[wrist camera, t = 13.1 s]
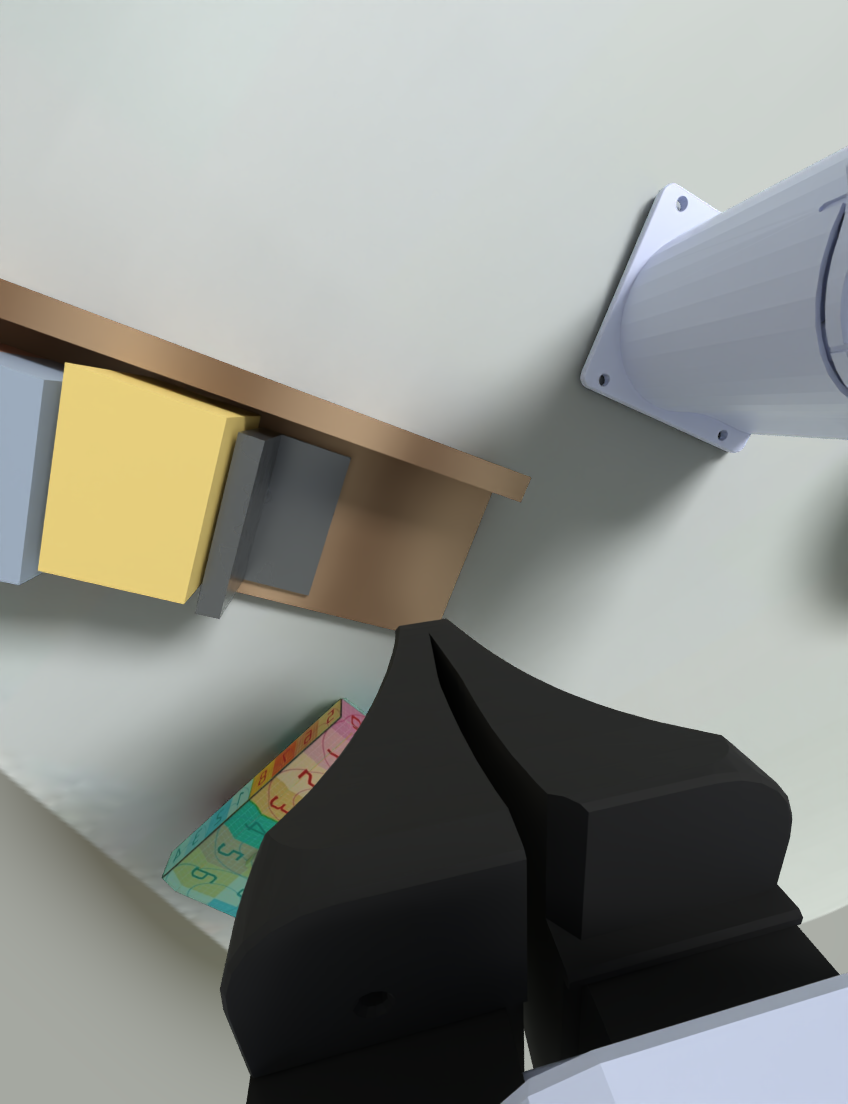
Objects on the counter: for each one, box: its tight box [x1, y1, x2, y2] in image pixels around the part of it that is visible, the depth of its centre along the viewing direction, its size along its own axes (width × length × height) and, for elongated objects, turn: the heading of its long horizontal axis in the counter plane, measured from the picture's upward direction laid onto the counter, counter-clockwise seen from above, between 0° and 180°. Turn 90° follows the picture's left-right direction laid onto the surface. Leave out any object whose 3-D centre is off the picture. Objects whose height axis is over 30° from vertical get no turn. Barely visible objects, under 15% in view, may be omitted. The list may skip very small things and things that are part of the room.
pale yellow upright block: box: [38, 362, 261, 604], centre depth 15 cm, size 4×6×5 cm, turn 160°
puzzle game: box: [162, 698, 366, 918], centre depth 24 cm, size 12×5×20 cm
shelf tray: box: [0, 279, 531, 630], centre depth 15 cm, size 21×9×6 cm, turn 70°
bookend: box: [195, 427, 351, 619], centre depth 16 cm, size 4×6×4 cm, turn 160°
